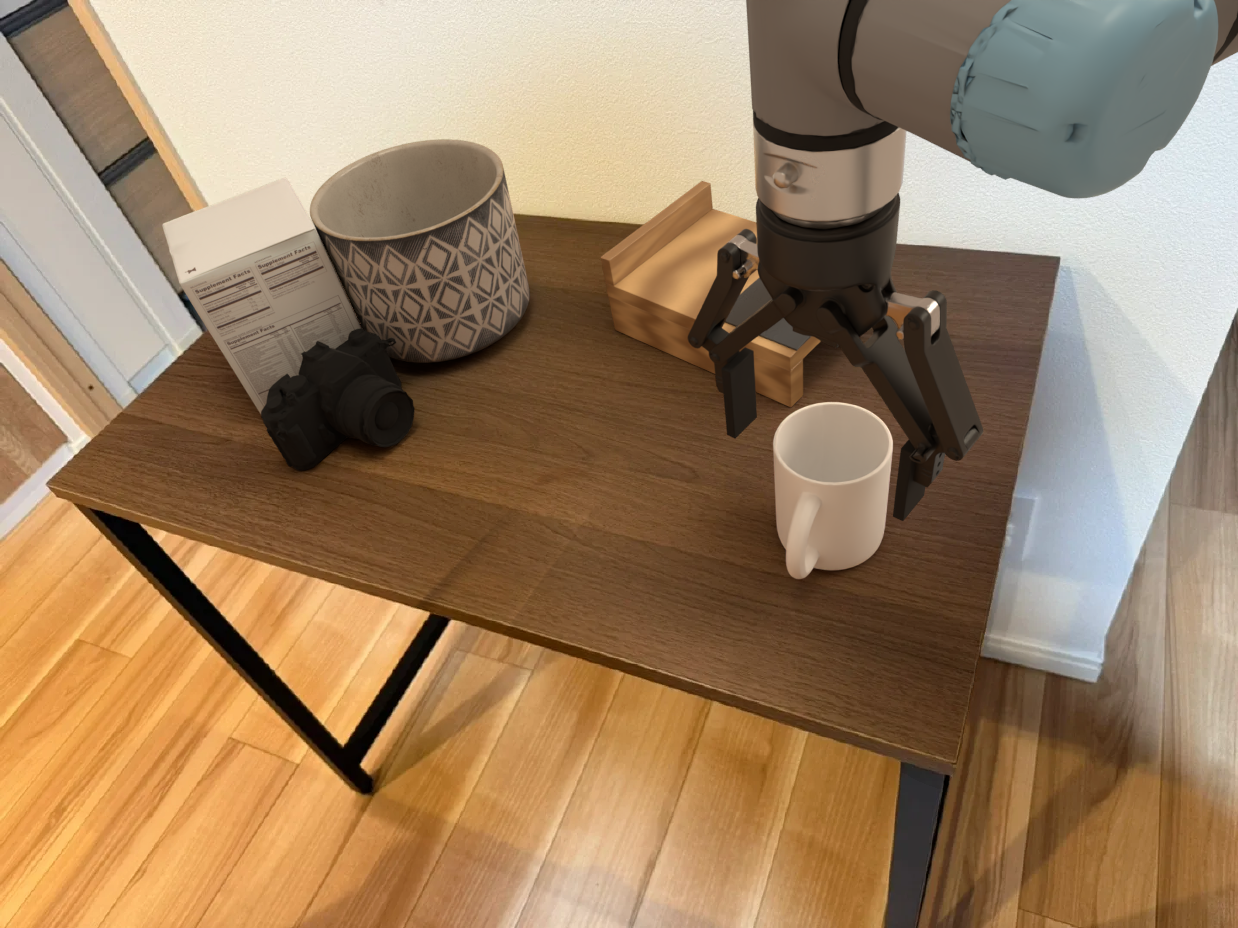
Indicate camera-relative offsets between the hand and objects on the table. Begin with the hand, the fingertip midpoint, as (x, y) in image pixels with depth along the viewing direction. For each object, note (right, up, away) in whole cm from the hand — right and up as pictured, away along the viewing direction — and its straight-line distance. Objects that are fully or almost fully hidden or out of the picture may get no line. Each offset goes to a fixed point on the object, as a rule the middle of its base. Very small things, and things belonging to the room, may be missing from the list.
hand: (820, 464), depth 61 cm
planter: (-33, +16, +36) cm, 51 cm away
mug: (+2, -7, +7) cm, 10 cm away
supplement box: (-48, +11, +34) cm, 60 cm away
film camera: (-39, +3, +25) cm, 47 cm away
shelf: (-1, +14, +28) cm, 31 cm away
